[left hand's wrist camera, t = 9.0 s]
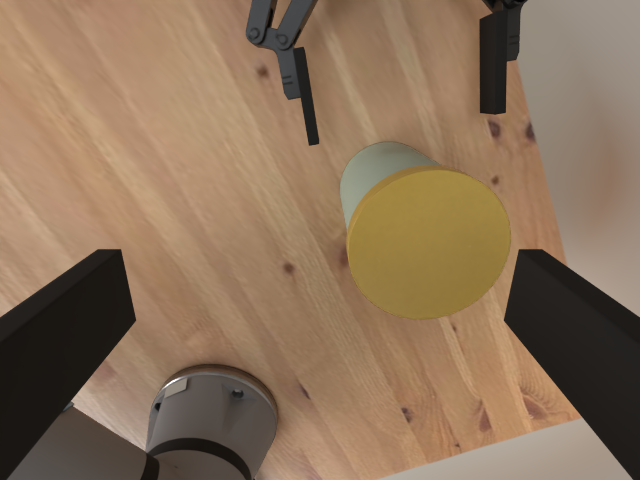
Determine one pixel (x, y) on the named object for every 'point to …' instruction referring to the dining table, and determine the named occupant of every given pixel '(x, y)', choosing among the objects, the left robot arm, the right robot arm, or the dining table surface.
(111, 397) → the dining table surface
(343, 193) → the jar
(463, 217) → the lid
